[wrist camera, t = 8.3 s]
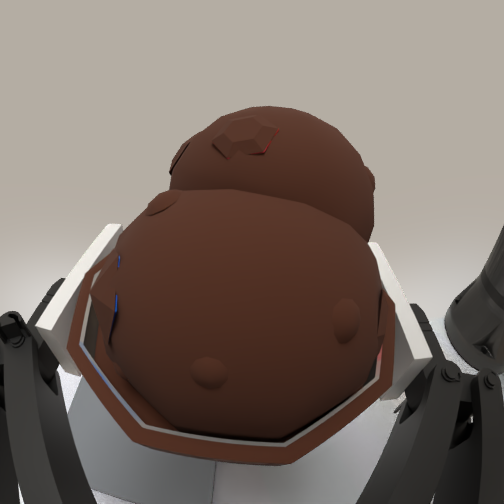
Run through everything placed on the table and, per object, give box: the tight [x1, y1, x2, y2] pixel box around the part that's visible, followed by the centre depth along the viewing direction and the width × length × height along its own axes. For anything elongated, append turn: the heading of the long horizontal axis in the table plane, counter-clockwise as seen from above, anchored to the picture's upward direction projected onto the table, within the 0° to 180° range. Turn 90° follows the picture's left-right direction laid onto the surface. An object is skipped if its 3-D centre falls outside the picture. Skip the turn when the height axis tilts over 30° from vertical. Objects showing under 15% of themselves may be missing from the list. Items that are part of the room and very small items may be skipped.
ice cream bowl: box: [66, 106, 395, 466], centre depth 10 cm, size 11×11×15 cm
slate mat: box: [67, 376, 216, 504], centre depth 21 cm, size 15×14×1 cm
